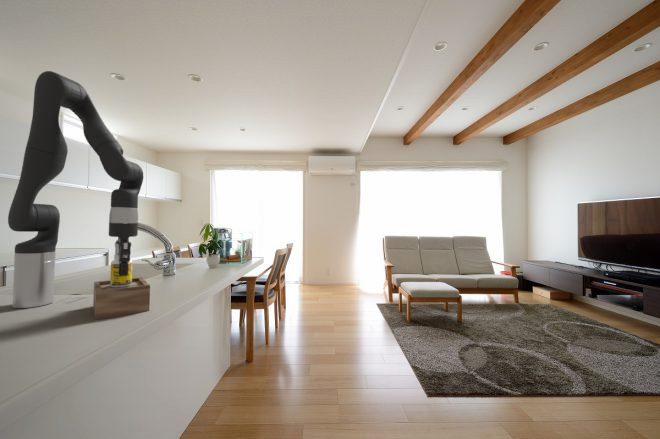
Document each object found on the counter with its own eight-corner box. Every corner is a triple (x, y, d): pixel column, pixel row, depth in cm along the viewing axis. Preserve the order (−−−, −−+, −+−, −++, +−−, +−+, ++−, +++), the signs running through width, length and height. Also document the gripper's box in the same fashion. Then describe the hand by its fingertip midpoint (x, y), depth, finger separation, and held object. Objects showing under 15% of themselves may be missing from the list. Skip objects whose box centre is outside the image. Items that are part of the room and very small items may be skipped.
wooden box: (93, 306, 90) (94, 281, 90) (140, 299, 99) (141, 277, 99) (95, 319, 78) (96, 291, 78) (149, 310, 87) (150, 285, 87)
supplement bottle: (109, 289, 84) (110, 255, 84) (111, 285, 89) (111, 253, 89) (131, 286, 88) (132, 254, 88) (132, 283, 92) (132, 252, 92)
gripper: (107, 221, 92) (105, 271, 91) (111, 221, 81) (108, 278, 81) (134, 221, 97) (132, 269, 96) (141, 222, 86) (139, 275, 86)
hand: (121, 273), depth 88 cm, fingers open, 6 cm apart
